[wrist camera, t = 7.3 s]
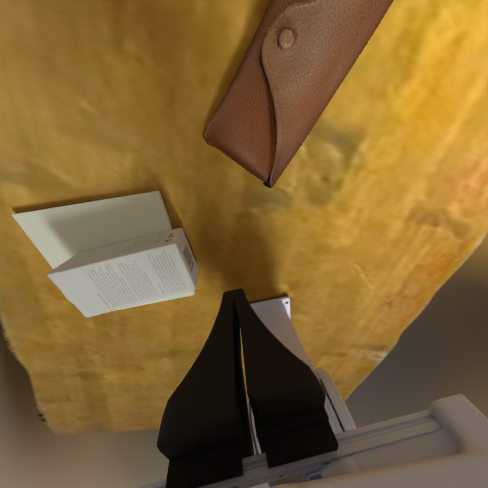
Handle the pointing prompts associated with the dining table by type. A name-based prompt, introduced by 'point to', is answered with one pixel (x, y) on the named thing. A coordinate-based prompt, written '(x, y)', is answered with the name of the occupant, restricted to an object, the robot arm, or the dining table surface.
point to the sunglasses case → (290, 79)
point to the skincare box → (128, 273)
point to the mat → (95, 226)
